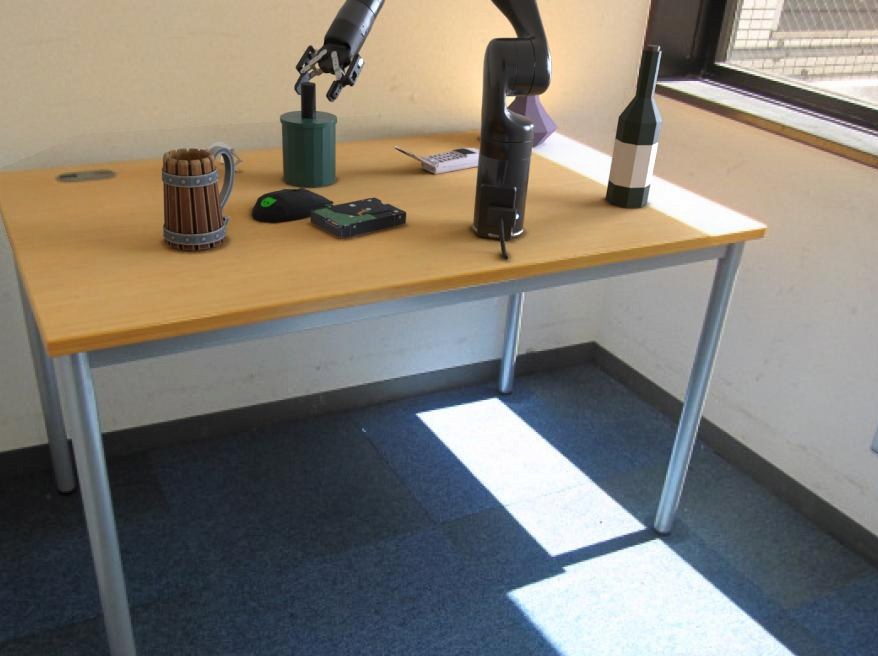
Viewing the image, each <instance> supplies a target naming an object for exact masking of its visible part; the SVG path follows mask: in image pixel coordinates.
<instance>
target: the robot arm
mask: <svg viewBox="0 0 878 656" xmlns="http://www.w3.org/2000/svg"><path fill="white" fill-rule="evenodd" d="M490 1H491V3H492V4H493V5H494V6H495V7H496V8H497V9H498V10H499V11H500V13H501V14H502V15H503V16H504V17H505V18H506V20H507V21H508V22H509V24H510V25H511V26H512V28H513V31H514V33H515V35H516V37H495V38H492V39H490V40H489V41H488V43H487V45H486V48H485V51H484V56H483V65H482V94H481V95H482V96H481V111H480V112H481V113H480V121H481V123H480V124H481V125H480V137H479V147H478V148H479V149H478V150H479V158H478V166H477V172H476V183H475V195H474V197H475V198H474V206H473V207H474V209H473V219H472V224H471V225H472V226H471V228H472V229H471V230H472V231H473V233H475V234H476V237H480V238H488V239H495V240H496V239H497V240H499V242H500V244H499V245H500V249H501V255H502V257H503V260H505V261H506V260H508V259H509V256H508V253H507V248H506V241H511V240H512V239H515V238H518V237H521V236H522V235H523V234H524V231H525V229H524V224H525V217H526V216H525V215H526V207H527V198H528V188H529V180H530V179H529V178H530V169H531V162H532V161H531V160H532V152H533V147H532V145H533V137H534V128H535V126H534V122H533V121H532V120H531V119H529V118H528V117H525V116H523V115H520V114H517V113H515V112H513V111H511V110H510V109H508V108H507V107H508V105H507V97H516V96H537V95H539V96H541V95H543V94H545V93H546V92H547V91H548V89H549V88H550V85H551V81H552V77H553V76H552V75H553V64H552V55H551V49H550V46H549V42H548V37H547V34H546V30H545V27H544V23H543V19H542V16H541V13H540V9H539V5H538V1H537V0H490ZM385 3H386V0H345V1H344V3H343V4H342V5H341V7H340V8H339V9H338V11H337V13H336V15H335V16H334V19H333V20H332V22H331V23H330V26H329V27H328V29H327V31H326V33H325V34H324V36H323V45H322V46H321V47H320V48H318V49H316V48H315V47H314V46H313V45H311V44H310V45H308V46H307V48H306V49H305V51H304V52H303V54H302V56H301V58H299V61H298V62H297V64H296V65H295V67H294V68H295V70H296V71H297V73H298V74H299V77H298V78H297V80H296V81H295V84H294V87H293V89H294V91H295V93H296V94H297V96H301V83H303V82H311V81H310V80H312V79H314V78H315V77H320V76H321V75H322V74H326V75H327V74H330V75H333V76H335V80H333V81H332V83H331V84H330V86H329V88H328V89H327V92H326V94H325V98H326V99H327V100H328V102H330V103H334V102H335V101H336V100H337V99H338V98H339V95H340V94H341V92H342V91H343V89H344V88H346V87H347V86H349V87H354V86H355V84H356V83H357V80H358V78H359V76H360V74H361V72H362V70H363V68H364V66H365V64H366V63H365V61H364V59H363V57H362V56H361V55H360V51H361V50H362V47H364V44H365V43H366V40H367V39H368V37H369V35H370V33H371V31H372V29H373V26H374V24H375V21H376V19H377V18H378V17H379V14H380V13H381V11H382V9H383V7H384V5H385ZM316 65H317V66H318V67H317V66H316ZM311 70H312V71H311Z"/></svg>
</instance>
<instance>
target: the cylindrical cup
mask: <svg viewBox="0 0 878 656" xmlns="http://www.w3.org/2000/svg"><path fill="white" fill-rule="evenodd" d="M336 126H337V123H336V124H335V125H333V126H330V127H325V128H296V127H290V126H286V125H284V124H282V123H281V145H282V149H281V150H282V178H283V181H284V183H286V184H287V185H291V186H292V187H293V186H294V187H298V188H322V187H327V186H331V185H332V184H334V183H335V182H336V173H337V172H336V169H337V168H336V165H337V164H336V163H337V161H336V158H337V157H336V152H337V151H336V150H337V149H336V147H337V146H336V145H337V142H336V137H337V135H336V131H337V129H336V128H337V127H336Z"/></svg>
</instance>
